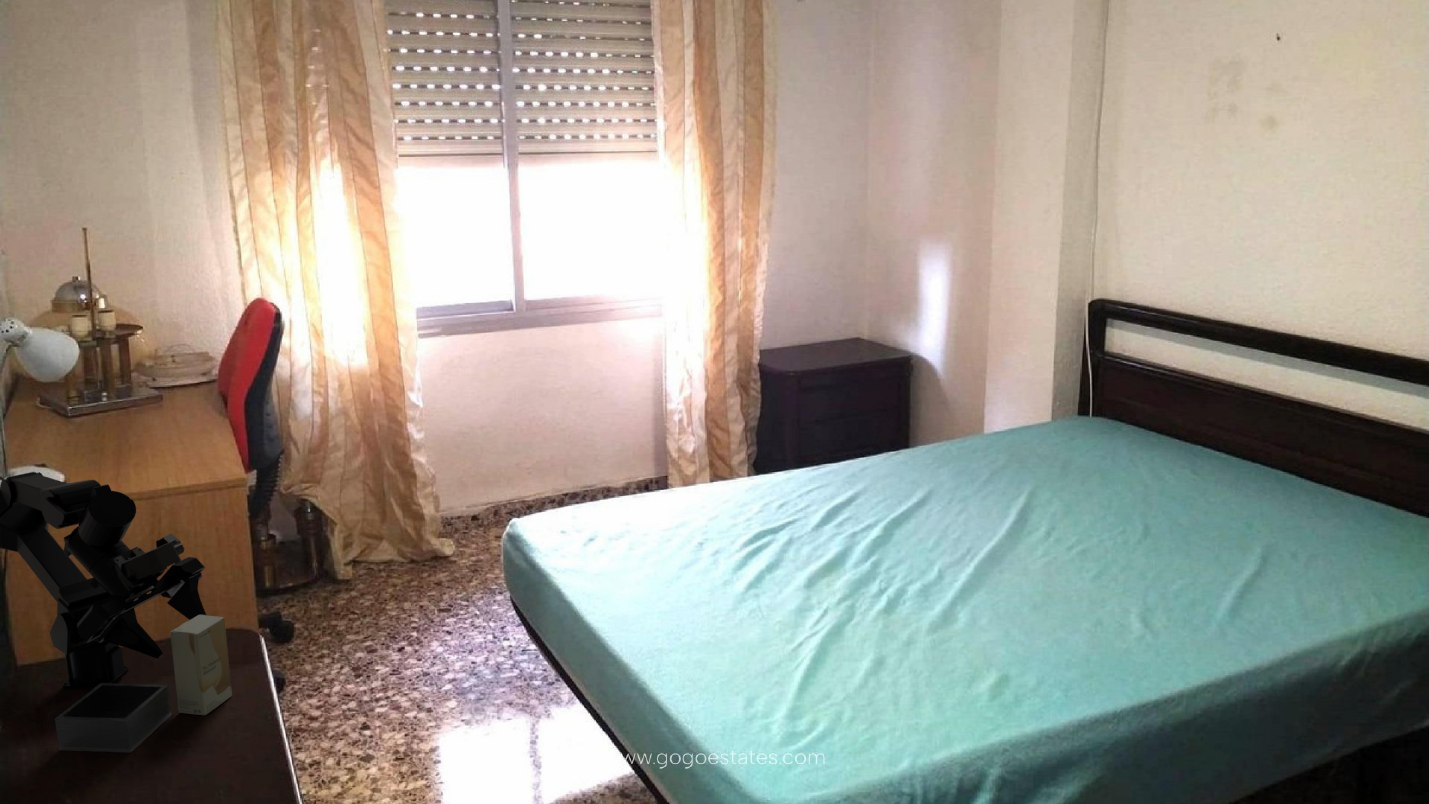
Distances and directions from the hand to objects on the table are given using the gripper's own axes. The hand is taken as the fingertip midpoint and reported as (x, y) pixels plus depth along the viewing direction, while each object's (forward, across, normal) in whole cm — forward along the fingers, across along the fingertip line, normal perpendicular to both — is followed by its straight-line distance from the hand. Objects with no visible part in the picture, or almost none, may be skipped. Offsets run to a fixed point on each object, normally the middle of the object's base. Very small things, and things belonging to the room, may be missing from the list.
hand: (184, 641), depth 148 cm
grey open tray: (+4, -9, +10) cm, 14 cm away
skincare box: (+8, 0, +5) cm, 10 cm away
